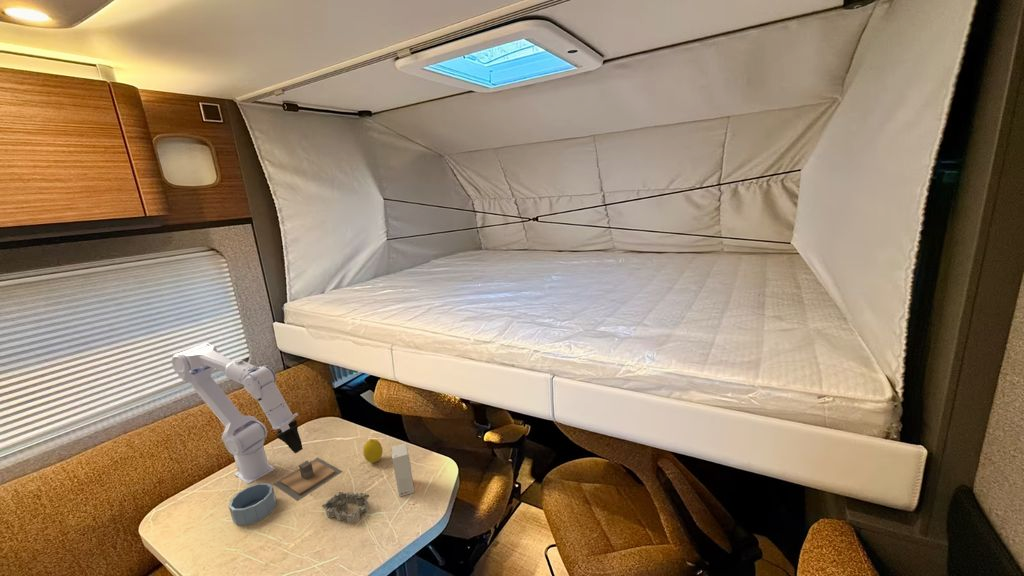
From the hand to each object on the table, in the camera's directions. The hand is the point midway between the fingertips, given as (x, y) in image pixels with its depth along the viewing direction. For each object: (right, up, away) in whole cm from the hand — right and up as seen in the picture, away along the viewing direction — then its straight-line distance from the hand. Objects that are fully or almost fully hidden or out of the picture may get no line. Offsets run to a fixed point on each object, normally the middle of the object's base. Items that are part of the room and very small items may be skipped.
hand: (298, 448), depth 121 cm
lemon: (+19, -8, +9) cm, 23 cm away
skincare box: (+32, -10, -3) cm, 34 cm away
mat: (+1, -11, +5) cm, 12 cm away
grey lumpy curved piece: (+18, -13, -10) cm, 25 cm away
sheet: (+1, -10, +5) cm, 11 cm away
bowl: (-8, -14, -7) cm, 18 cm away
